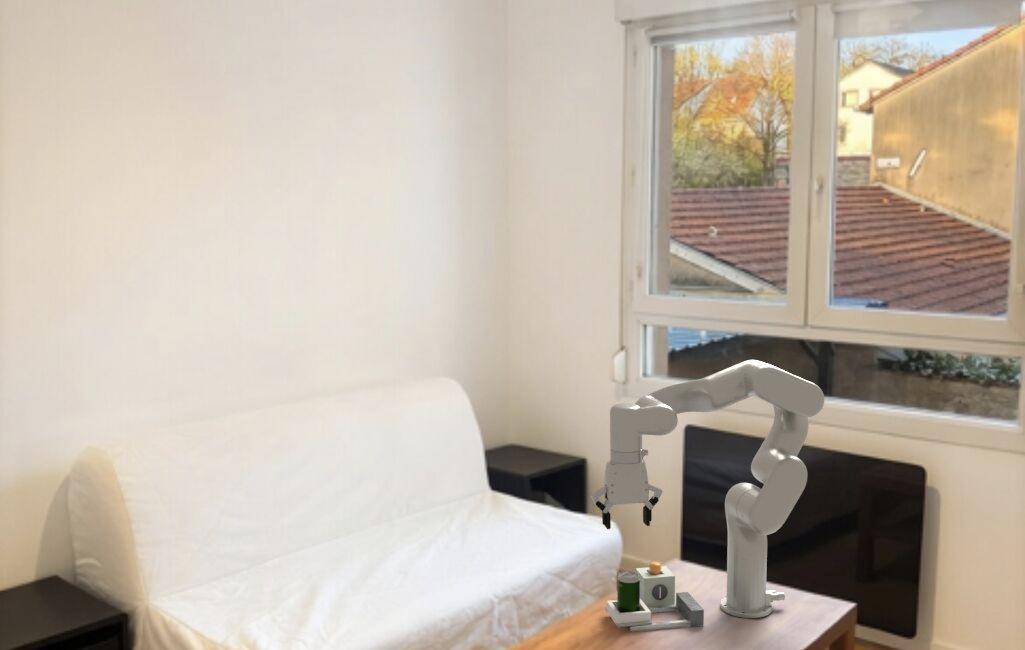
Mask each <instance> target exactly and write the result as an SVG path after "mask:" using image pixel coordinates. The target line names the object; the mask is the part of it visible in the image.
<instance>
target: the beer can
mask: <svg viewBox="0 0 1025 650" xmlns="http://www.w3.org/2000/svg"><path fill="white" fill-rule="evenodd" d="M616 588H617V591H616V592H617V593H616V595H617V598H616V600H617V610H618V612H619V613H625V612H637V611H640V578H639V574H638V573H637V572H636V571H633V570H622V571H620V572H619V573H618V576H617V585H616Z"/></svg>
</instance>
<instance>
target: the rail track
mask: <svg viewBox="0 0 1025 650" xmlns="http://www.w3.org/2000/svg"><path fill="white" fill-rule="evenodd" d="M647 608H648V609H649V610H650V611H651V614H656V613H657V612H660V613H668V612H667V611H671V612H679V614H681V617H683V619H679V620H667V621H666V620H665V621H657V622H656V621H655V622H652V624H647V625H635V626H628V630H629V629H630V630H629V631H630V632H631V631H632V632H640V631H639V630H643V631H652V630H653V629H654V630H664V628H665V629H675V628H674V627H676V628H684V627H685V628H687V627H688V628H689V627H691V628H694V627H704V625H705V618H704V617H705V610H704V608H703V607H702V606H701V605H700V604H699V602H698V601H696V600H695V598H693V596H692V595H691V594H690V593H689V592H688V591H685V592H676V593H675V605H663V606H651V607H647ZM657 614H658V613H657ZM651 629H652V630H651ZM637 630H638V631H637Z"/></svg>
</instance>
